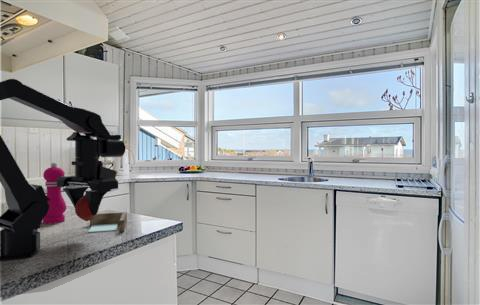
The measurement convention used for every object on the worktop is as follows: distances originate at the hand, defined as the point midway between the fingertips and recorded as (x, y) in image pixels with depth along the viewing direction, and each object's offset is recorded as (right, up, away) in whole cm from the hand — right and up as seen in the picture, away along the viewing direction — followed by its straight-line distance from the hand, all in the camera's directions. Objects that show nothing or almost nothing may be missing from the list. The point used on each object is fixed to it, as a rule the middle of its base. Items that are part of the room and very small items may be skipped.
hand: (86, 213), depth 79 cm
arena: (+1, -7, +9) cm, 11 cm away
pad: (0, -7, +9) cm, 11 cm away
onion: (0, -2, 0) cm, 2 cm away
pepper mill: (-21, -7, +17) cm, 28 cm away
